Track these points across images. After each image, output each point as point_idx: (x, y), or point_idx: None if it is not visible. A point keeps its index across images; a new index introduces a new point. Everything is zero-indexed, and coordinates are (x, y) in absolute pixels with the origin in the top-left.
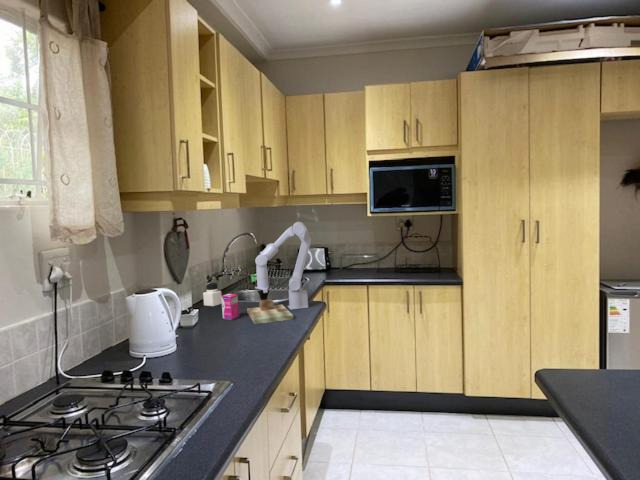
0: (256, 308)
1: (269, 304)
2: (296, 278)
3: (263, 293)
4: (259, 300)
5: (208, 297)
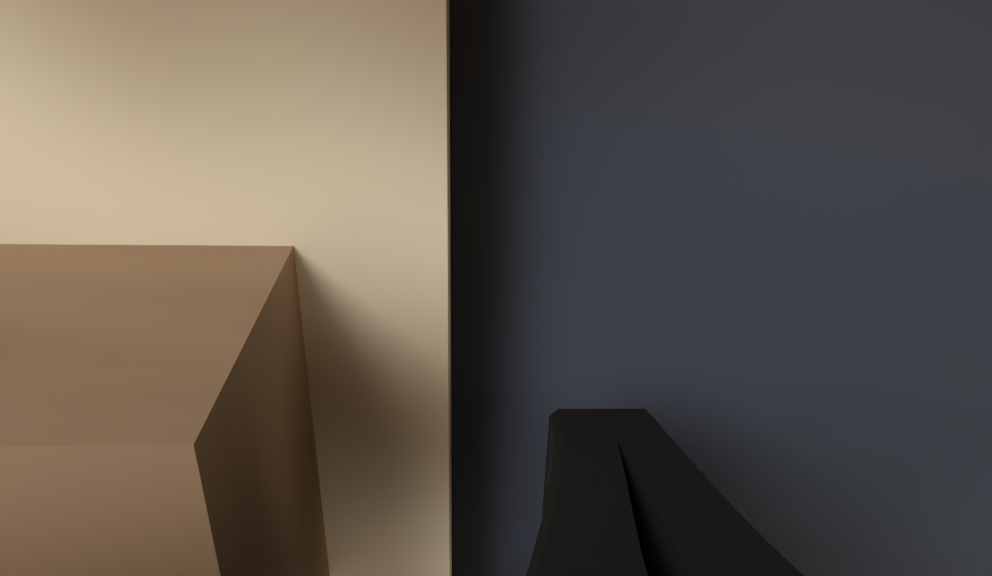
0: (265, 121)
1: None
2: None
3: None
4: (105, 449)
5: None
